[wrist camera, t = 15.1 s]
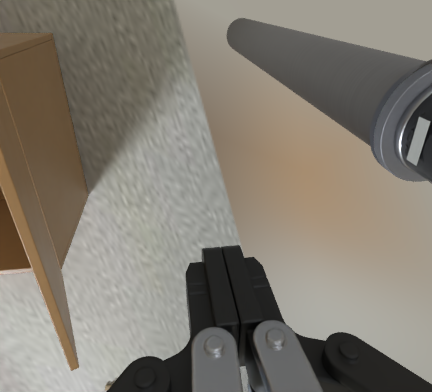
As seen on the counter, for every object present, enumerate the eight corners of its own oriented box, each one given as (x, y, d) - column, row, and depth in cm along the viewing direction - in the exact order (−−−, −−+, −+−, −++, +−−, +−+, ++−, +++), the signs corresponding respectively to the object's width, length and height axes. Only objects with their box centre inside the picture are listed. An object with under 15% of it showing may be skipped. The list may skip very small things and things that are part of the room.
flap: (-19, 55, 15) (-9, 54, 15) (55, 277, 22) (62, 275, 22) (-37, 91, 9) (-20, 89, 9) (71, 371, 16) (79, 367, 16)
